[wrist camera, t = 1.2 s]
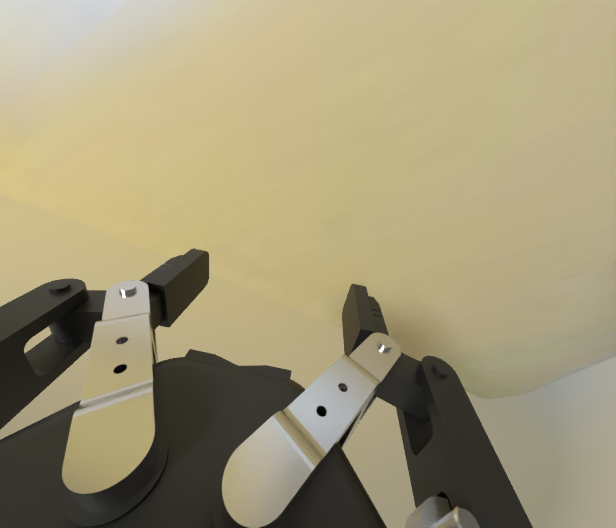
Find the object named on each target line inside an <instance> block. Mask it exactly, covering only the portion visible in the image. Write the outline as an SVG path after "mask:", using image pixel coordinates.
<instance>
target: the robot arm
mask: <svg viewBox="0 0 616 528" xmlns="http://www.w3.org/2000/svg"><path fill="white" fill-rule="evenodd" d="M208 279H209V254H208V252H207V251H202V250H198V249H191V250H190V251H188V252H187V253H186V254H184V255H180V256H177V257H174V258H171V259H170V260H168V261H167V262H165V263H164V264H163V265H161V266H160V267H159V268H157V269H155V270H154V271H153V272H151V273H150V274H148V275H147V276H146V277H144V278H143V279H142V280H140V281H135V280H131V281H124V282H120V283H117V284H115V285H113V286H111V287H110V288H109V289H108V290H107V291H95V290H91V291H90V290H87V289H86V286H85V283H84V282H83V281H81V280H78V279H61V280H55V281H51V282H48V283H46V284H43V285H41V286H39V287H37V288H35V289H34V290H32V291H30V292H28V293H26V294H24V295H22V296H20V297H18V298H16V299H14V300H12V301H11V302H9V303H7V304H5V305H3V306H1V307H0V429H1V428H3V427H4V426H5V425H6V424H7V423H8V422H9V421H10V420H11V419H12V418H13V417H15V416H16V415H17V414H18V413H19V412H20V411H21V410H22V409H23V408H24V407H25V406H27V405H28V404H29V403H30V402H31V401H32V400H33V399H34V398H35V397H37V396H38V395H39V394H40V393H41V392H42V391H43V390H44V389H45V388H46V387H47V386H49V385H50V384H51V383H52V382H53V381H54V380H55V379H56V378H57V377H59V376H60V375H61V374H62V373H63V372H64V371H65V370H66V369H67V368H68V367H69V366H71V365H72V364H73V363H74V362H75V361H76V360H77V359H78V358H79V357H80V356H81V355H82V354H84V353H85V352H86V351H87V350H88V349H89V348H90V347H91V348H90V353H89V359H88V365H87V370H86V375H85V380H84V386H83V391H82V396H81V400H80V401H78V402H76V403H74V404H72V405H70V406H68V407H66V408H64V409H62V410H60V411H58V412H56V413H54V414H52V415H50V416H48V417H46V418H43V419H41V420H40V421H38V422H35V423H34V424H31V425H29V426H27V427H25V428H23V429H21V430H19V431H17V432H15V433H13V434H11V435H9V436H7V437H5V438H3V439H1V440H0V528H387V527H386V525H385V524H384V522H383V520H382V519H381V517H380V515H379V513H378V511H377V510H376V508H375V506H374V504H373V503H372V501H371V499H370V497H369V496H368V494H367V492H366V490H365V489H364V487H363V485H362V483H361V482H360V480H359V478H358V476H357V474H356V473H355V471H354V469H353V467H352V466H351V464H350V462H349V461H348V459H347V457H346V455H345V453H344V452H343V450H342V448H343V447H344V445H345V444H346V442H347V441H348V439H349V438H350V436H351V435H352V433H353V431H354V430H355V428H356V427H357V425H358V424H359V422H360V421H361V419H362V418H363V416H364V415H365V413H366V412H367V410H368V409H369V408H370V406H371V405H372V403H373V402H374V400H375V399H376V397H379V398H380V399H383V400H384V401H386V402H388V403H390V404H392V405H393V406H395V407H396V409H397V414H398V419H399V424H400V429H401V434H402V440H403V445H404V450H405V455H406V460H407V465H408V470H409V475H410V481H411V485H412V491H413V496H414V501H415V506H416V509H415V510H414V511H413V512H412V513H411V514H410V515H409V516H408V518H407V521H406V525H405V528H533V527H532V525H531V523H530V521H529V519H528V517H527V515H526V513H525V511H524V509H523V507H522V505H521V503H520V501H519V499H518V497H517V495H516V493H515V491H514V489H513V487H512V485H511V483H510V481H509V479H508V477H507V475H506V473H505V471H504V469H503V467H502V465H501V463H500V460H499V458H498V456H497V454H496V453H495V450H494V448H493V446H492V445H491V442H490V440H489V438H488V436H487V434H486V432H485V430H484V428H483V426H482V424H481V422H480V420H479V418H478V416H477V414H476V412H475V410H474V408H473V406H472V404H471V402H470V400H469V398H468V396H467V394H466V392H465V390H464V388H463V386H462V384H461V382H460V380H459V378H458V376H457V374H456V372H455V371H454V370H453V368H452V367H451V366H450V365H448V364H447V363H446V362H444V361H443V360H441V359H439V358H437V357H433V356H426V357H424V358H423V359H422V361H421V362H420V361H418V360H416V359H413V358H411V357H409V356H407V355H405V354H403V353H402V352H401V348H400V346H399V344H398V343H397V342H396V341H395V340H394V339H393V338H391V337H390V336H389V335H388V332H387V328H386V325H385V322H384V319H383V315H382V312H381V309H380V306H379V303H378V302H377V301H376V300H375V299H374V297H370V296H368V293H367V289H366V287H365V286H361V285H356V284H352V285H351V287H350V289H349V292H348V295H347V298H346V301H345V304H344V307H343V312H342V322H343V337H344V351H345V354H344V355H342V356H341V357H340V358H339V359H338V360H337V361H336V362H335V363H334V364H333V365H332V366H331V367H329V368H328V369H327V370H326V371H325V372H324V373H323V374H322V375H321V376H320V377H319V378H318V379H317V380H316V381H315V382H314V383H312V384H311V385H310V386H309V387H308V388H307V389H306V390H305V389H304V388H303V387H302V386H301V385H299V384H298V383H296V382H295V381H293V380H291V379H290V376H291V371H290V370H286V369H281V368H276V367H271V366H266V365H265V366H238V365H235V364H233V363H231V362H229V361H227V360H225V359H223V358H221V357H219V356H217V355H215V354H210V353H205V352H201V351H196V350H191V349H190V350H189V351H188V353H187V354H186V356H185V357H180V358H173V359H168V360H164V361H161V362H158V358H157V347H156V334H155V329H156V328H157V327H158V326H159V325H160V326H164V327H170V326H171V325H172V324H173V323H174V321H175V320H176V319H177V318H178V317H179V316H180V315H181V313H182V312H183V311H184V310H185V309H186V308H187V307H188V306H189V304H190V303H191V302H192V301H193V300H194V299H195V298H196V297H197V295H198V294H199V293H200V292H201V291H202V290H203V289H204V288H205V286H206V285H207V283H208ZM48 326H49V328H50V330H51V333H52V334H51V335H50V336H48V337H47V338H46V339H44V340H43V341H42V342H40V343H39V344H37V345H36V346H35V347H34V348H32V349H31V350H29V351H28V352H26V353H25V354H24V347H25V345H26V343H27V342H28V341H29V339H30V338H32V337H33V336H35V335H36V334H38V333H39V332H40V331H42V330H43V329H45V328H46V327H48Z"/></svg>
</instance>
